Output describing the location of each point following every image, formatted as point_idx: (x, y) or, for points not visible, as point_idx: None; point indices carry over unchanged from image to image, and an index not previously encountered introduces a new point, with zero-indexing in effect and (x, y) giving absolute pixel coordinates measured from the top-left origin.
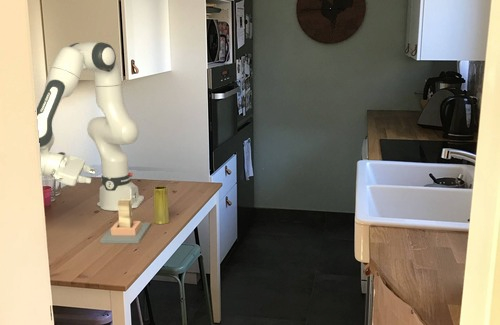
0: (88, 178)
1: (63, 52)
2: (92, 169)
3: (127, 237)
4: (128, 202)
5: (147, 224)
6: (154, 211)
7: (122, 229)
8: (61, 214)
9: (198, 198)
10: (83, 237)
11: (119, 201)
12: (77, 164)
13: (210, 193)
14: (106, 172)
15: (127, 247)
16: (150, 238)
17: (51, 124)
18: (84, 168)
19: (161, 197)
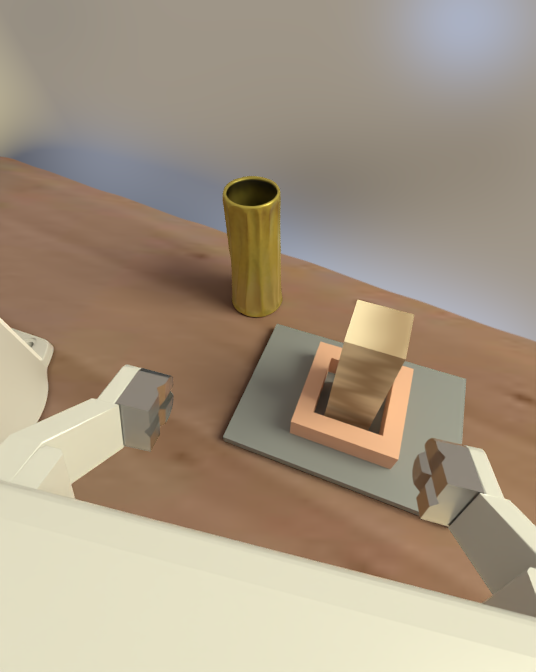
0: (491, 471)
1: None
2: (152, 389)
3: (426, 410)
4: (413, 316)
5: (293, 334)
6: (249, 288)
7: (405, 413)
8: None
9: (85, 201)
10: None
11: (396, 351)
12: (71, 641)
13: (62, 177)
14: None
15: (502, 423)
16: (412, 345)
17: None
18: (58, 494)
19: (279, 223)
